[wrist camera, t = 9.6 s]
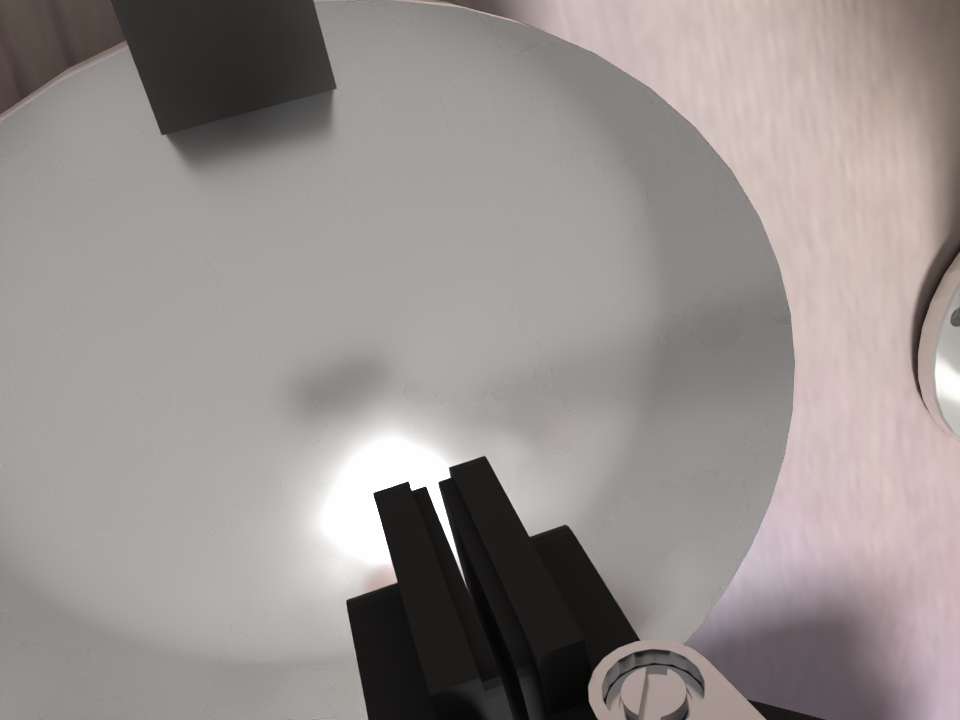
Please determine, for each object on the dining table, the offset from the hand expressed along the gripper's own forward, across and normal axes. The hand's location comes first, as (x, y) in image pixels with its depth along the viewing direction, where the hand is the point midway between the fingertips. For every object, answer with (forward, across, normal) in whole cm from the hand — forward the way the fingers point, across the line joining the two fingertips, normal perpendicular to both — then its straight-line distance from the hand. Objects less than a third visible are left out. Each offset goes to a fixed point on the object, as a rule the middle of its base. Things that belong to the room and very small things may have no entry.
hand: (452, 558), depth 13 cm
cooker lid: (+8, +1, +1) cm, 8 cm away
